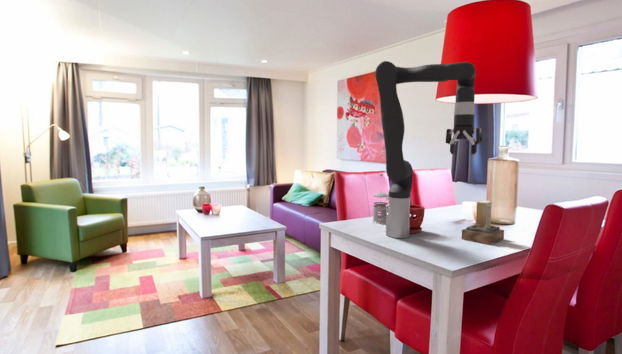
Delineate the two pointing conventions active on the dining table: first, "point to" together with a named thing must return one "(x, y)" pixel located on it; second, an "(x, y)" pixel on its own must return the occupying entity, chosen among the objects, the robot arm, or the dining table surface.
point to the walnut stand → (483, 234)
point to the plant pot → (416, 218)
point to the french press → (380, 208)
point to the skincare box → (483, 215)
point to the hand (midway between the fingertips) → (462, 154)
